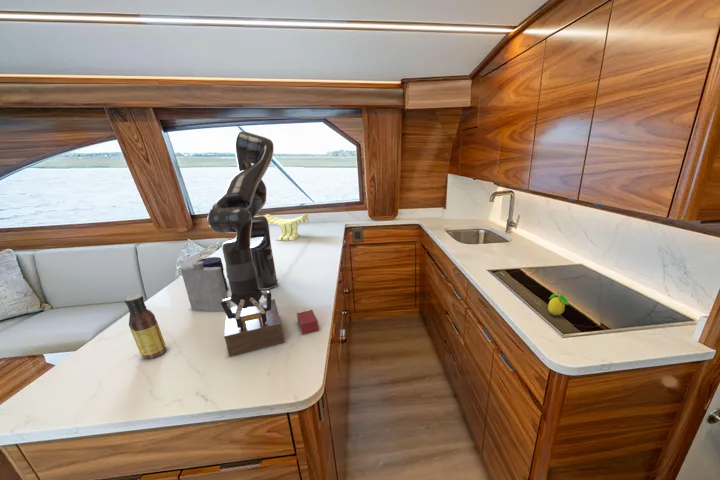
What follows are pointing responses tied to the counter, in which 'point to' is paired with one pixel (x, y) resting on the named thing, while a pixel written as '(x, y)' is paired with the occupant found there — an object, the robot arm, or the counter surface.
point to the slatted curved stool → (287, 226)
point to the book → (307, 322)
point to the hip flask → (204, 287)
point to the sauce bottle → (144, 328)
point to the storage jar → (214, 265)
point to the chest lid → (252, 320)
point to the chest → (254, 340)
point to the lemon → (557, 304)
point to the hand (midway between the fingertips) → (252, 325)
